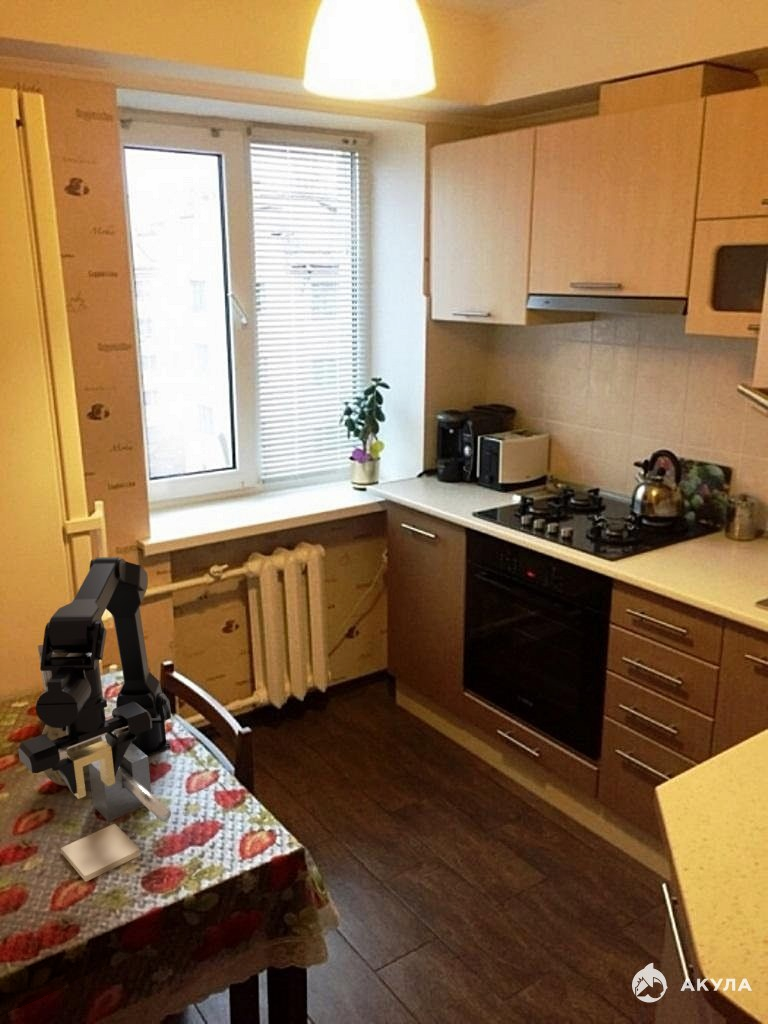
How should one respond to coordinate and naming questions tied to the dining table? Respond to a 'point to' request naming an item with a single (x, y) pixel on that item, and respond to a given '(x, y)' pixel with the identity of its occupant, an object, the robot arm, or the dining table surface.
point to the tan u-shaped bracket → (89, 756)
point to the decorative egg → (57, 733)
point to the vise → (126, 788)
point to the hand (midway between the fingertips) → (93, 784)
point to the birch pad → (100, 852)
